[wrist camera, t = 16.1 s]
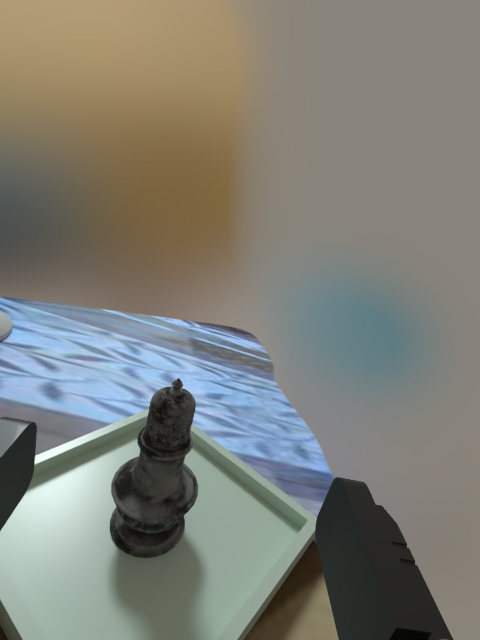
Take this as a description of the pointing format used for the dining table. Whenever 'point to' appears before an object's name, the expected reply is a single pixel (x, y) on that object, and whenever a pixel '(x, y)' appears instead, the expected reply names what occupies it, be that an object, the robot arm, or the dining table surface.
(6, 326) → the candlestick
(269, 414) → the dining table surface
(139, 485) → the dark grey chess piece
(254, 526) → the tray
